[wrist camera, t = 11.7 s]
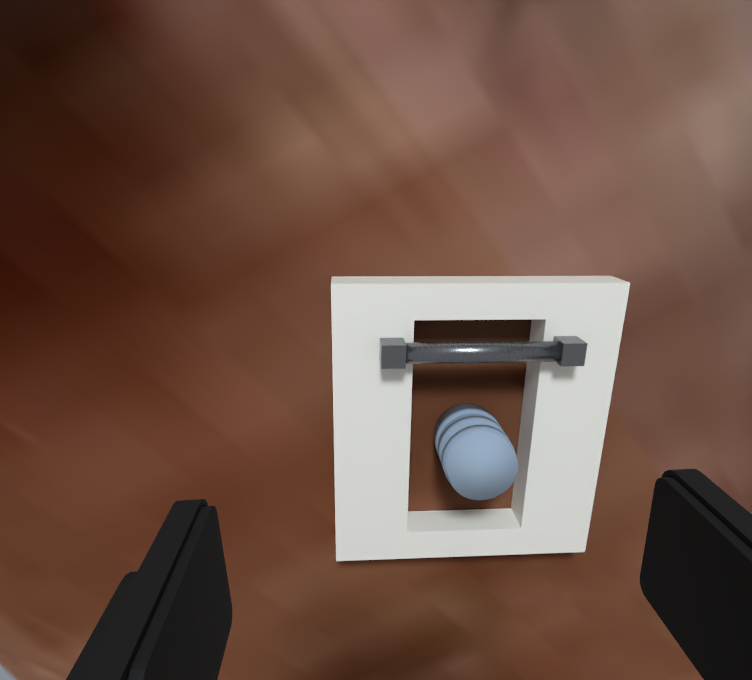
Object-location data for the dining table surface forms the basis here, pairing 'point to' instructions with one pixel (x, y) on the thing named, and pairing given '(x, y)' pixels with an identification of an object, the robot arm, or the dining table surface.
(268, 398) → the dining table surface
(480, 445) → the stacked blue discs
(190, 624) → the robot arm
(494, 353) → the dark gray bar handle
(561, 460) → the white frame with handle
